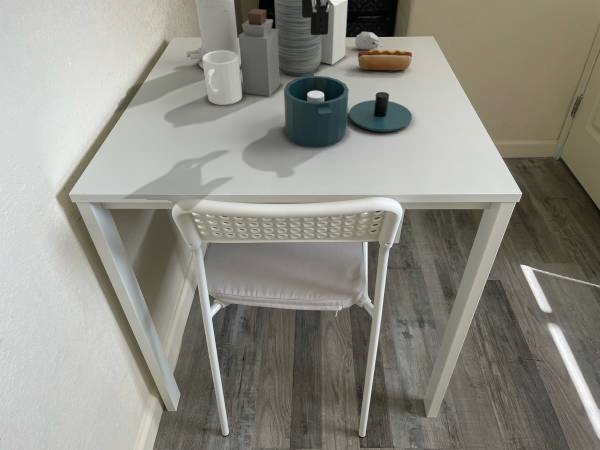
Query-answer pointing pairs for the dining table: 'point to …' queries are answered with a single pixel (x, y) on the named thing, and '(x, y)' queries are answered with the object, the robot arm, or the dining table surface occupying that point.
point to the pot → (315, 111)
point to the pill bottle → (315, 96)
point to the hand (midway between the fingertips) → (314, 25)
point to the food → (384, 60)
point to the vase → (296, 39)
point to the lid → (380, 114)
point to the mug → (222, 77)
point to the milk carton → (335, 32)
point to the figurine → (366, 41)
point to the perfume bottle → (259, 54)
